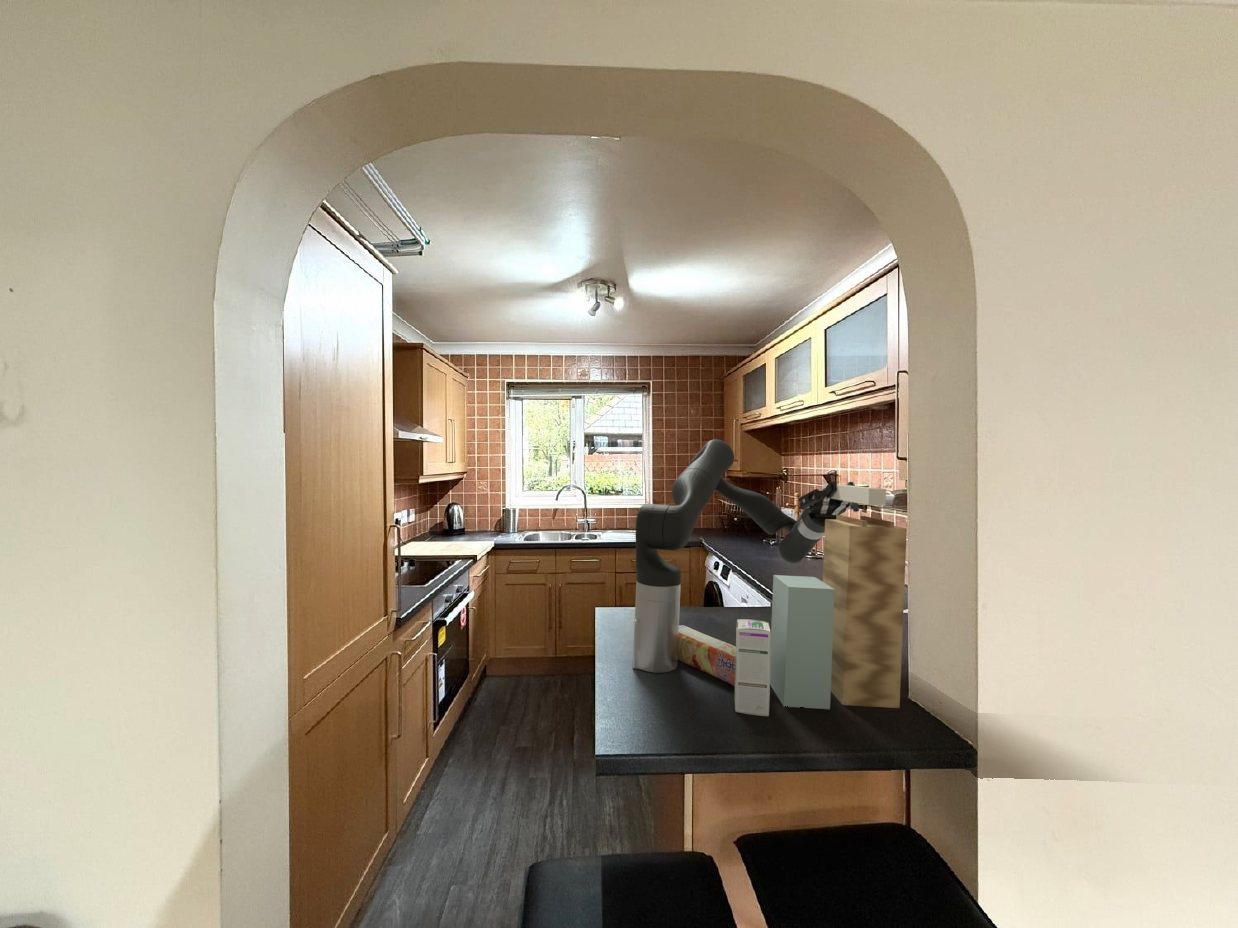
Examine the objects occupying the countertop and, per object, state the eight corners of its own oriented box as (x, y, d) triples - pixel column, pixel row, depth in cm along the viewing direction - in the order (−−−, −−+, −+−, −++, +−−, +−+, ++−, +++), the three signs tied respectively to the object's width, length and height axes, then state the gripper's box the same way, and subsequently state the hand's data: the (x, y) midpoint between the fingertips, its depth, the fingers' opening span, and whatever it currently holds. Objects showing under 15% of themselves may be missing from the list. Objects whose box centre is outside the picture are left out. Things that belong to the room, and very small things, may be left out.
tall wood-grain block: (842, 704, 92) (850, 520, 92) (818, 677, 104) (825, 514, 104) (899, 707, 92) (906, 522, 92) (868, 680, 104) (875, 516, 104)
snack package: (764, 686, 99) (765, 651, 99) (742, 694, 95) (743, 658, 95) (685, 651, 116) (686, 621, 116) (663, 657, 112) (664, 626, 112)
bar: (868, 504, 93) (869, 488, 93) (822, 496, 116) (823, 483, 116) (885, 505, 93) (886, 489, 93) (836, 497, 116) (836, 484, 116)
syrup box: (769, 717, 86) (773, 630, 86) (733, 712, 87) (737, 627, 87) (766, 702, 92) (770, 620, 92) (733, 697, 93) (736, 617, 93)
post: (783, 706, 90) (788, 586, 90) (769, 682, 100) (773, 574, 100) (829, 709, 90) (834, 589, 90) (810, 684, 100) (814, 576, 100)
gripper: (785, 503, 125) (807, 468, 110) (844, 506, 125) (874, 471, 110) (789, 532, 121) (812, 499, 106) (849, 534, 121) (881, 502, 106)
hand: (843, 485), depth 108 cm, fingers closed on bar, 3 cm apart
